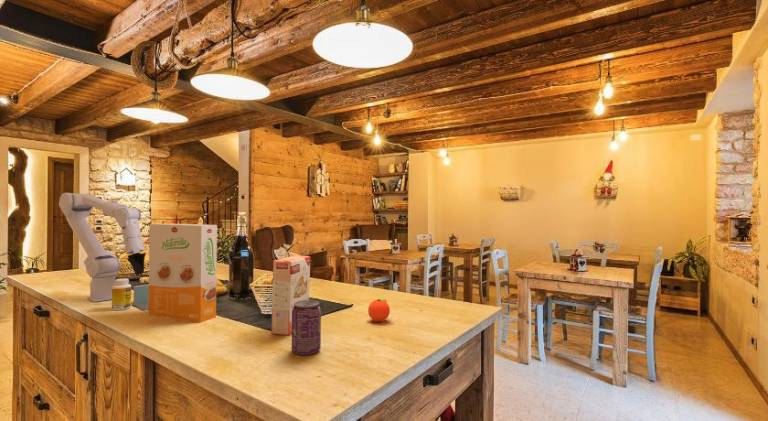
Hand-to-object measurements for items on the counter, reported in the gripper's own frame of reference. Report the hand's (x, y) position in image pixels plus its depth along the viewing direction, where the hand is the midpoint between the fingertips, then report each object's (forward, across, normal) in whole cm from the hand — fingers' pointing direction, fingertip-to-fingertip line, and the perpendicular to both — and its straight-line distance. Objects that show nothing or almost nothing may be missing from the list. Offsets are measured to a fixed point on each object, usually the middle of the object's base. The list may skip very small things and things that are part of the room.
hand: (139, 273), depth 141 cm
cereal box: (+18, -26, -8) cm, 33 cm away
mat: (+12, -6, -1) cm, 14 cm away
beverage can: (+31, -76, -26) cm, 87 cm away
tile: (+11, 0, +1) cm, 11 cm away
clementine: (+34, -66, -56) cm, 93 cm away
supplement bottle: (+11, -5, +8) cm, 14 cm away
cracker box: (+28, -57, -31) cm, 71 cm away
